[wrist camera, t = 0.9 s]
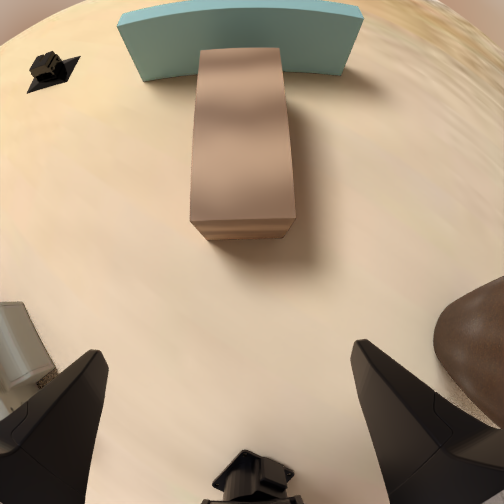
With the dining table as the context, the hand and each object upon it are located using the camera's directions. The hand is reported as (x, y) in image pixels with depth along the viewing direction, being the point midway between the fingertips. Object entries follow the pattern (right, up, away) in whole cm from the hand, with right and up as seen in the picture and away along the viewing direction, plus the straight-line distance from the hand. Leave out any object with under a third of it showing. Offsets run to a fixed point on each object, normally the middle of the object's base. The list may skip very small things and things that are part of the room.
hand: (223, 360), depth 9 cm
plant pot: (+24, -6, +17) cm, 30 cm away
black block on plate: (-30, +31, +21) cm, 48 cm away
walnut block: (0, +13, +19) cm, 23 cm away
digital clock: (-27, -8, +16) cm, 32 cm away
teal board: (0, +29, +20) cm, 35 cm away
